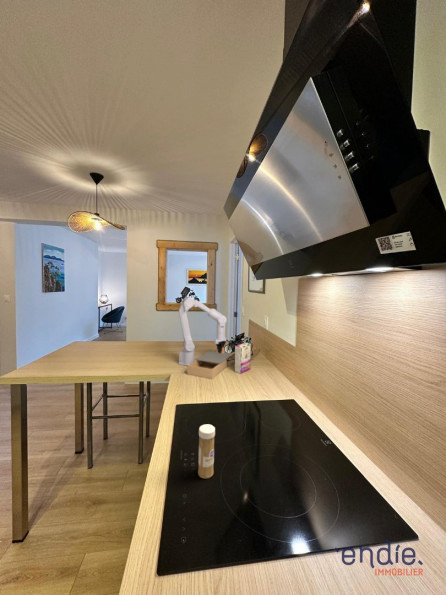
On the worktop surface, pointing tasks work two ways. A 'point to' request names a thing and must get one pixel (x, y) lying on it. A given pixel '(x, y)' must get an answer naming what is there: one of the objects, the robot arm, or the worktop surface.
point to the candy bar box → (242, 357)
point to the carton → (206, 369)
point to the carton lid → (214, 356)
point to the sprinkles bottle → (206, 450)
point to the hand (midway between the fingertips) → (220, 352)
